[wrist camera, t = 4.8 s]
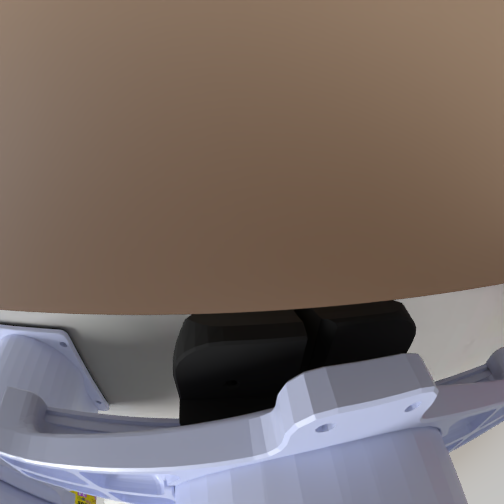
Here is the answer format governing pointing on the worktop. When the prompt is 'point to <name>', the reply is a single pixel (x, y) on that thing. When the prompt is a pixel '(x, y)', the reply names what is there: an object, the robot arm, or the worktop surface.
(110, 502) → the milk
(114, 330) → the worktop surface
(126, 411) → the worktop surface
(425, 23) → the walnut shelf
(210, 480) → the robot arm
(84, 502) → the supplement bottle
